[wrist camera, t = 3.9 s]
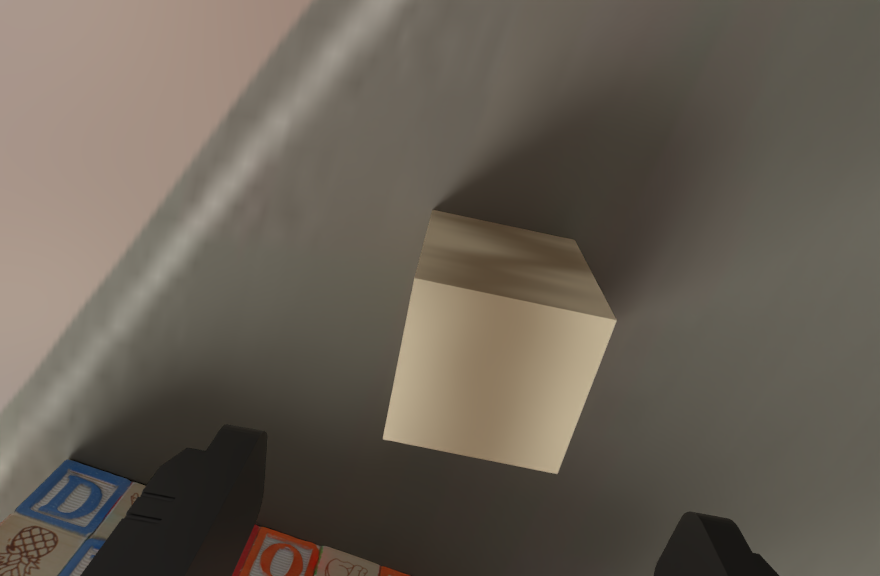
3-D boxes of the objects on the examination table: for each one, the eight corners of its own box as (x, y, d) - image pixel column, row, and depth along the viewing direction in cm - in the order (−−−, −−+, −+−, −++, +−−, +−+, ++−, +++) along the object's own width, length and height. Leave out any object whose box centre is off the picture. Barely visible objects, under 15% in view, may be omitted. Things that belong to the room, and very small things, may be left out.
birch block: (574, 239, 18) (616, 320, 13) (535, 360, 20) (557, 474, 15) (432, 209, 18) (414, 277, 13) (407, 333, 20) (382, 439, 15)
